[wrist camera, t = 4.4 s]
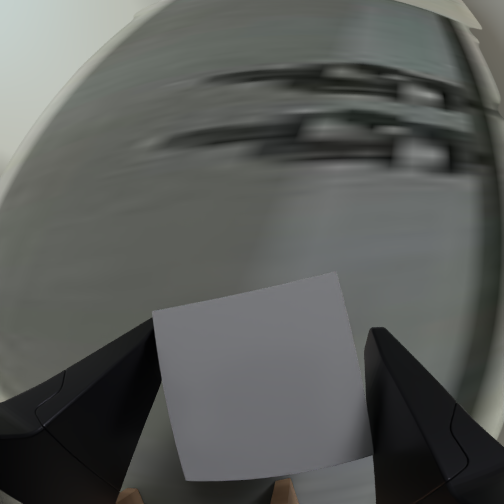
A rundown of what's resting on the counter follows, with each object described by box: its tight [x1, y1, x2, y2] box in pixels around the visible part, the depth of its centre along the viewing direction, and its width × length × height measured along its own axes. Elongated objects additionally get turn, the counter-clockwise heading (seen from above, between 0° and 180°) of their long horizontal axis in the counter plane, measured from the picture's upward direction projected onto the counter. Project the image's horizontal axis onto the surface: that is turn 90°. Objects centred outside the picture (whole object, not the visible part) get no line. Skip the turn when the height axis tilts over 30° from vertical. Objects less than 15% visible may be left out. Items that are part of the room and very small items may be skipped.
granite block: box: [152, 271, 374, 481], centre depth 10 cm, size 5×5×8 cm
